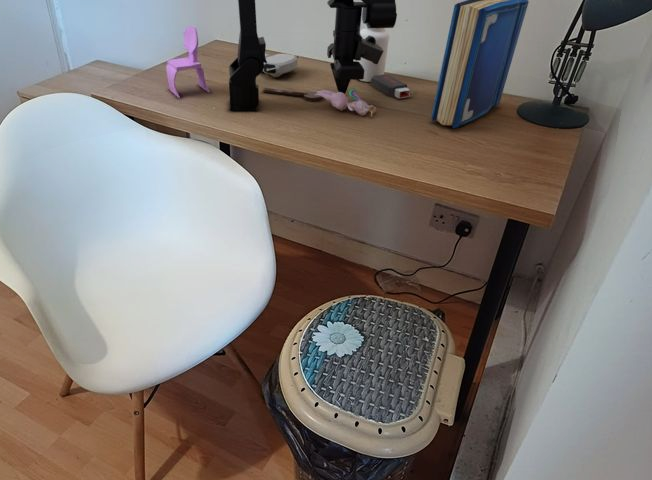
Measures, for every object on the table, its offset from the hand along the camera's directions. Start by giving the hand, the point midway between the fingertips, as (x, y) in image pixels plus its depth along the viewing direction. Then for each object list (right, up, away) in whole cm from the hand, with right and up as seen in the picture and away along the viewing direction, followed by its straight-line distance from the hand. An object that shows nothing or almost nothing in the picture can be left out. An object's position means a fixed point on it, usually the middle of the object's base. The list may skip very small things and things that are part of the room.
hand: (341, 97), depth 128 cm
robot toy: (-18, +13, +18) cm, 29 cm away
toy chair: (-38, +3, +6) cm, 39 cm away
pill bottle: (+9, +10, +16) cm, 21 cm away
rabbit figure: (0, -4, -2) cm, 5 cm away
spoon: (-12, +2, +5) cm, 13 cm away
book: (+29, -6, -3) cm, 30 cm away
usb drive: (+14, +4, +8) cm, 16 cm away
